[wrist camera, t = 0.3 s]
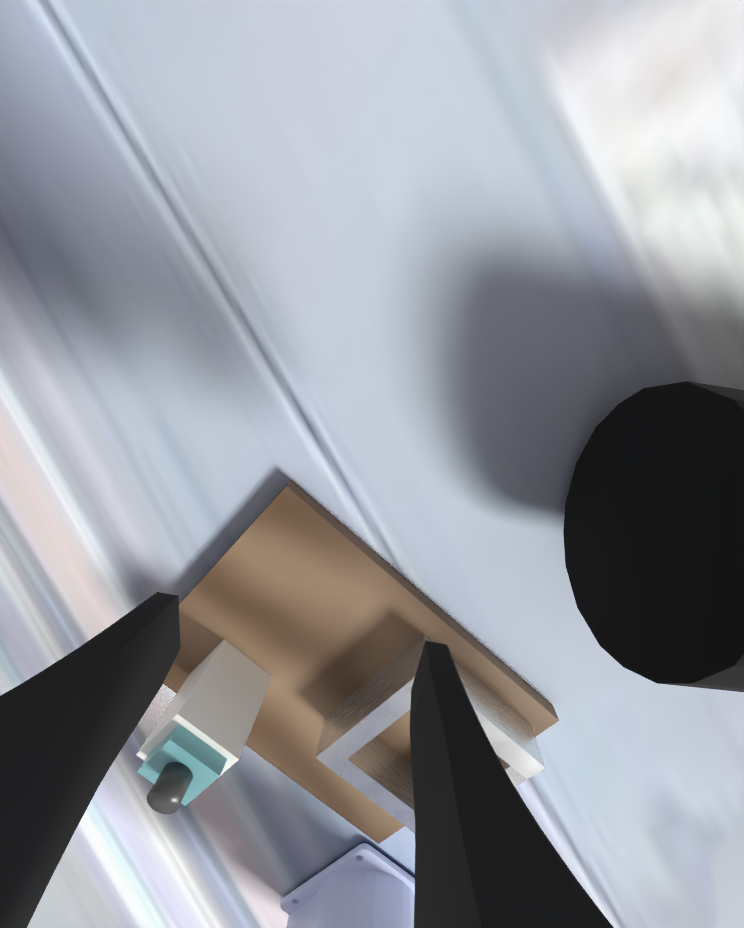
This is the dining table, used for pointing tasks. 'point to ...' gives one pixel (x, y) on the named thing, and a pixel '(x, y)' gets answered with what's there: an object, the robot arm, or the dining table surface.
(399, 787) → the end holder
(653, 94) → the dining table surface
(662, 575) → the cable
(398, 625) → the board
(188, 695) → the connector plug
